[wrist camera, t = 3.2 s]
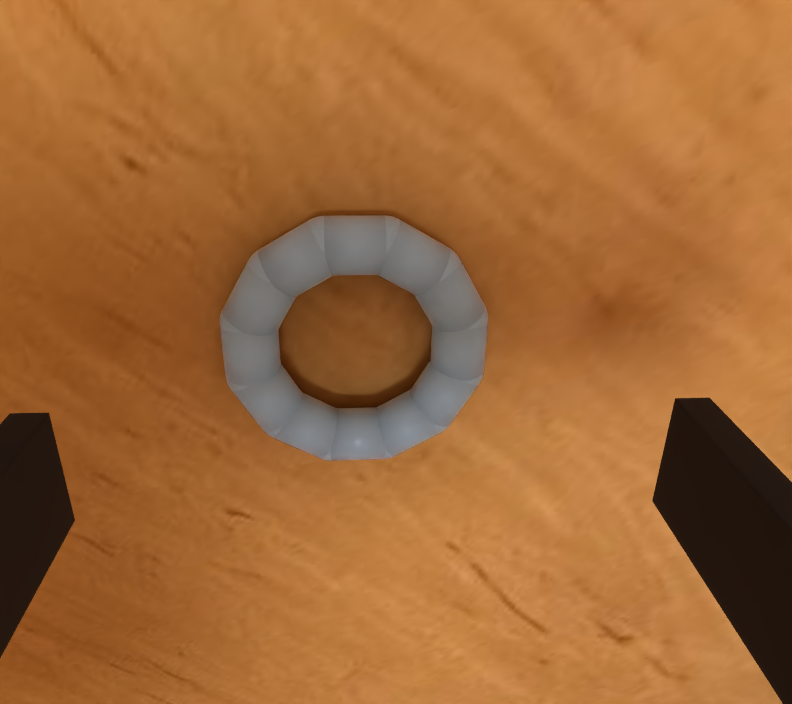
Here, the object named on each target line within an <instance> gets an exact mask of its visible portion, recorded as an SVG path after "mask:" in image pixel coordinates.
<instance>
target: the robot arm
mask: <svg viewBox="0 0 792 704" xmlns="http://www.w3.org/2000/svg"><path fill="white" fill-rule="evenodd" d="M653 503H654V504H655V506H656V507H657V509H658V511H659V512H660V514H661V515H662V517H663V518H664V520H665V521H666V523H667V524H668V526H669V528H670V529H671V531H672V532H673V534H674V535H675V537H676V538H677V540H678V542H679V543H680V545H681V546H682V548H683V549H684V551H685V552H686V554H687V556H688V557H689V559H690V560H691V562H692V563H693V565H694V566H695V568H696V569H697V571H698V573H699V574H700V576H701V577H702V579H703V580H704V582H705V583H706V585H707V587H708V588H709V590H710V591H711V593H712V594H713V596H714V597H715V599H716V601H717V602H718V604H719V605H720V607H721V608H722V610H723V611H724V613H725V615H726V616H727V618H728V619H729V621H730V622H731V624H732V625H733V627H734V628H735V630H736V632H737V633H738V635H739V636H740V638H741V639H742V641H743V642H744V644H745V646H746V647H747V649H748V650H749V652H750V653H751V655H752V656H753V658H754V660H755V661H756V663H757V664H758V666H759V667H760V669H761V670H762V672H763V673H764V675H765V677H766V678H767V680H768V681H769V683H770V684H771V686H772V687H773V689H774V691H775V692H776V694H777V695H778V697H779V698H780V700H781V701H782V703H783V704H792V482H791V481H790V480H789V479H788V478H787V477H786V476H785V475H784V474H783V473H782V472H781V471H780V470H779V469H778V468H777V467H776V466H775V465H774V464H773V463H772V462H771V461H770V460H769V458H768V457H767V456H766V455H765V454H764V453H763V452H762V451H761V450H760V449H759V448H758V447H757V446H756V445H755V444H754V443H753V442H752V441H751V440H750V439H749V438H748V437H747V436H746V435H745V434H744V433H743V432H742V431H741V430H740V429H739V428H738V427H737V426H736V425H735V424H734V423H733V422H732V420H731V419H730V418H729V417H728V416H727V415H726V414H725V413H724V412H723V411H722V410H721V409H720V408H719V407H718V406H717V405H716V404H715V403H714V402H713V401H712V400H711V399H710V398H676V399H675V402H674V406H673V411H672V415H671V420H670V424H669V429H668V433H667V438H666V442H665V447H664V451H663V456H662V460H661V465H660V469H659V474H658V478H657V483H656V487H655V492H654V496H653ZM74 521H75V519H74V514H73V510H72V506H71V502H70V498H69V494H68V490H67V486H66V481H65V477H64V473H63V469H62V465H61V461H60V457H59V453H58V448H57V444H56V440H55V436H54V432H53V428H52V424H51V420H50V415H49V413H14V414H9V415H8V416H7V417H6V419H5V420H4V421H3V422H2V423H1V424H0V658H1V656H2V654H3V652H4V650H5V648H6V647H7V645H8V643H9V641H10V639H11V637H12V635H13V634H14V632H15V630H16V628H17V626H18V624H19V623H20V621H21V619H22V617H23V615H24V613H25V611H26V610H27V608H28V606H29V604H30V602H31V600H32V599H33V597H34V595H35V593H36V591H37V589H38V587H39V586H40V584H41V582H42V580H43V578H44V576H45V574H46V573H47V571H48V569H49V567H50V565H51V563H52V562H53V560H54V558H55V556H56V554H57V552H58V550H59V549H60V547H61V545H62V543H63V541H64V539H65V538H66V536H67V534H68V532H69V530H70V528H71V526H72V525H73V523H74Z"/></svg>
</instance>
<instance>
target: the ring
mask: <svg viewBox="0 0 792 704" xmlns="http://www.w3.org/2000/svg"><path fill="white" fill-rule="evenodd" d="M340 275H378V276H380V277H382V278H384V279H386V280H388V281H389V282H391V283H393V284H395V285H397V286H399V287H401V288H402V289H404V290H406V291H408V292H410V293H412V294H414V296H415V298H416V299H417V301H418V303H419V304H420V306H421V308H422V309H423V311H424V313H425V314H426V316H427V318H428V320H429V321H430V323H431V325H432V340H431V360H430V361H429V363H428V364H427V366H426V367H425V369H424V370H423V372H422V373H421V375H420V376H419V378H418V379H417V381H416V382H415V384H414V385H413V387H412V388H411V389H410V390H408V391H406V392H405V393H403V394H401V395H399V396H397V397H395V398H393V399H391V400H389V401H387V402H386V403H384V404H382V405H380V406H378V407H365V408H335V407H333V406H331V405H329V404H326V403H324V402H322V401H320V400H318V399H316V398H313V397H311V396H309V395H307V394H305V393H303V392H301V390H300V389H299V388H298V386H297V385H296V384H295V382H294V381H293V379H292V378H291V377H290V375H289V374H288V373H287V371H286V370H285V369H284V367H283V366H282V364H281V361H280V346H279V331H278V329H279V327H280V325H281V323H282V321H283V320H284V318H285V316H286V314H287V313H288V311H289V309H290V307H291V306H292V304H293V302H294V300H295V298H296V297H297V296H298V295H300V294H302V293H304V292H305V291H307V290H309V289H311V288H312V287H314V286H316V285H318V284H319V283H321V282H323V281H325V280H326V279H328V278H330V277H332V276H340ZM487 329H488V312H487V309H486V306H485V304H484V302H483V301H482V299H481V297H480V295H479V293H478V291H477V290H476V288H475V286H474V284H473V282H472V280H471V278H470V277H469V275H468V273H467V271H466V269H465V267H464V266H463V264H462V262H461V260H460V258H459V257H458V255H457V254H456V253H455V252H454V251H453V250H452V249H450V248H449V247H447V246H445V245H444V244H442V243H440V242H438V241H436V240H435V239H433V238H431V237H429V236H428V235H426V234H424V233H422V232H421V231H419V230H417V229H415V228H414V227H412V226H410V225H408V224H407V223H405V222H403V221H401V220H400V219H398V218H396V217H393V216H388V215H336V216H317V217H314V218H312V219H310V220H308V221H306V222H305V223H303V224H301V225H300V226H298V227H296V228H294V229H293V230H291V231H289V232H288V233H286V234H284V235H282V236H281V237H279V238H277V239H276V240H274V241H272V242H270V243H269V244H267V245H265V246H264V247H262V248H260V249H259V250H257V251H256V252H254V254H253V255H252V256H251V257H250V258H249V260H248V262H247V264H246V265H245V267H244V269H243V271H242V273H241V275H240V277H239V279H238V281H237V283H236V285H235V287H234V288H233V290H232V292H231V294H230V296H229V298H228V300H227V302H226V304H225V306H224V308H223V310H222V312H221V315H220V331H221V341H222V350H223V359H224V368H225V377H226V381H227V384H228V386H229V388H230V389H231V391H232V392H233V393H234V394H235V396H236V397H237V398H238V399H239V401H240V402H241V403H242V405H243V406H244V407H245V408H246V410H247V411H248V412H249V413H250V415H251V416H252V417H253V419H254V420H255V421H256V422H257V424H258V425H259V426H260V427H261V429H262V430H263V431H264V432H265V433H266V434H267V435H269V436H270V437H272V438H274V439H277V440H279V441H281V442H283V443H286V444H288V445H290V446H293V447H295V448H297V449H300V450H302V451H304V452H306V453H309V454H311V455H313V456H316V457H318V458H320V459H323V460H328V461H339V460H370V459H388V458H392V457H394V456H396V455H398V454H400V453H402V452H404V451H406V450H408V449H410V448H412V447H414V446H416V445H418V444H420V443H422V442H424V441H426V440H428V439H430V438H432V437H433V436H435V435H437V434H439V433H441V432H443V431H444V430H446V429H447V428H448V427H449V425H450V424H451V423H452V421H453V420H454V419H455V417H456V416H457V414H458V413H459V412H460V410H461V409H462V407H463V406H464V405H465V403H466V402H467V400H468V399H469V398H470V396H471V395H472V393H473V392H474V391H475V389H476V388H477V386H478V385H479V384H480V382H481V380H482V378H483V375H484V367H485V354H486V342H487Z"/></svg>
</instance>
